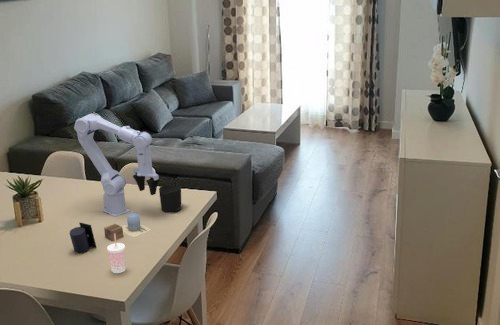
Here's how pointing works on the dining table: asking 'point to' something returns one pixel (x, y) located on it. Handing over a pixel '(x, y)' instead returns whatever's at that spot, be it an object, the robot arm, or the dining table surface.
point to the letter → (135, 233)
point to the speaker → (82, 238)
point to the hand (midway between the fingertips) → (147, 192)
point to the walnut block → (111, 230)
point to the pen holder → (170, 198)
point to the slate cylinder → (133, 222)
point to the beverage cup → (117, 256)
